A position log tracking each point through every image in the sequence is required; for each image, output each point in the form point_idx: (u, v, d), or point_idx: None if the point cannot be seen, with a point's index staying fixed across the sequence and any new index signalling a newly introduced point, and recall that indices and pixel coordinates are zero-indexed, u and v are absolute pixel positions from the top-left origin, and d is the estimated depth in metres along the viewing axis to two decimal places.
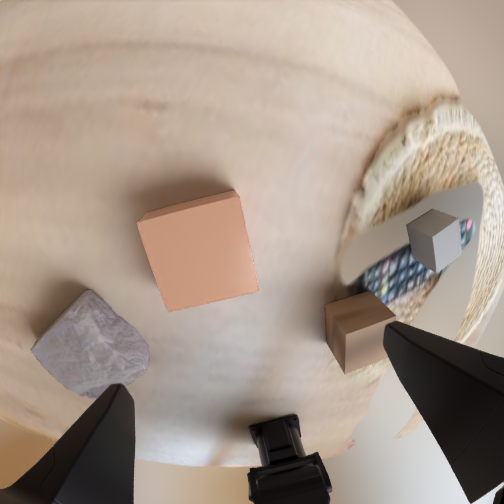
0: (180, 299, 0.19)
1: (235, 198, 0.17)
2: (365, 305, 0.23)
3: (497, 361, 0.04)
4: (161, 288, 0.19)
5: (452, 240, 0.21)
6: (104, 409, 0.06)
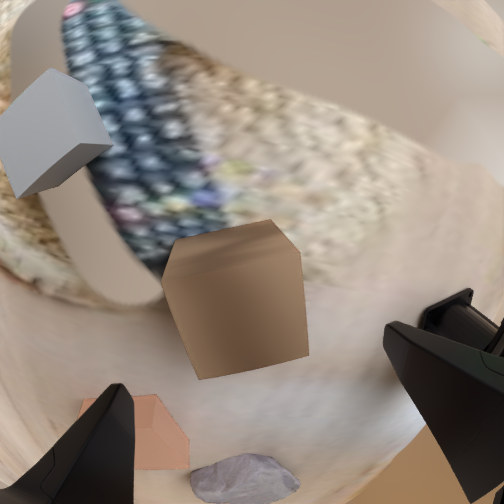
0: (174, 463, 0.16)
1: None
2: None
3: (497, 361, 0.04)
4: (167, 468, 0.17)
5: (20, 124, 0.07)
6: (104, 409, 0.06)
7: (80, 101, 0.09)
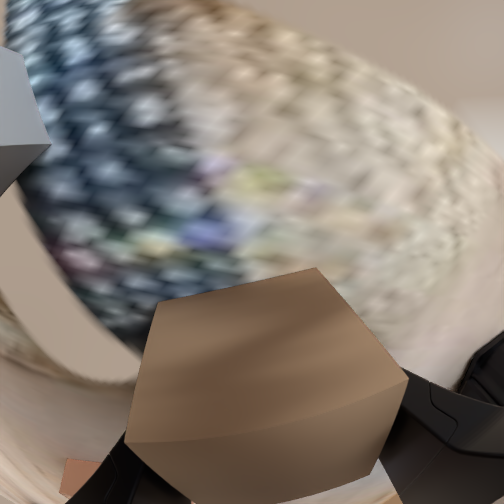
0: None
1: (62, 494, 0.08)
2: None
3: (448, 398, 0.04)
4: None
5: None
6: None
7: None
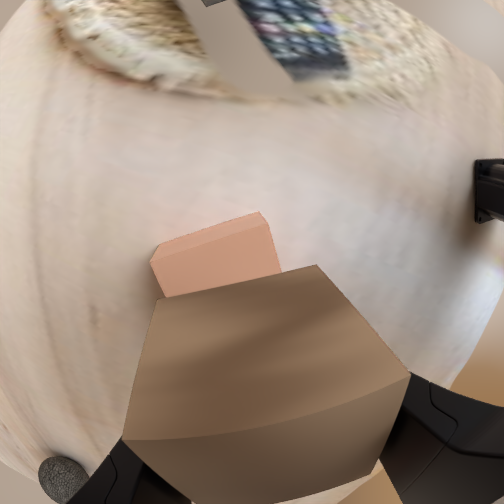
0: None
1: (152, 265, 0.15)
2: None
3: (448, 398, 0.04)
4: None
5: None
6: None
7: None
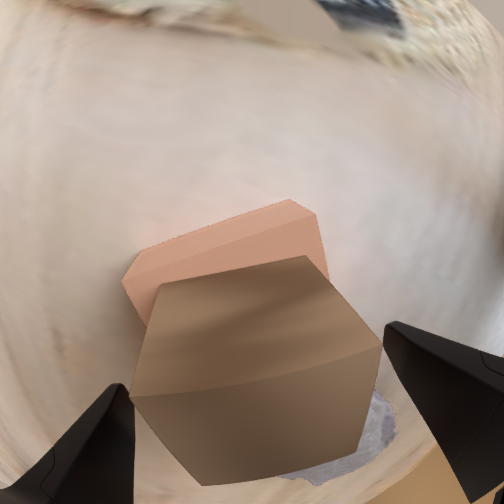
0: None
1: (126, 287, 0.09)
2: None
3: (497, 361, 0.04)
4: None
5: None
6: (104, 409, 0.06)
7: None
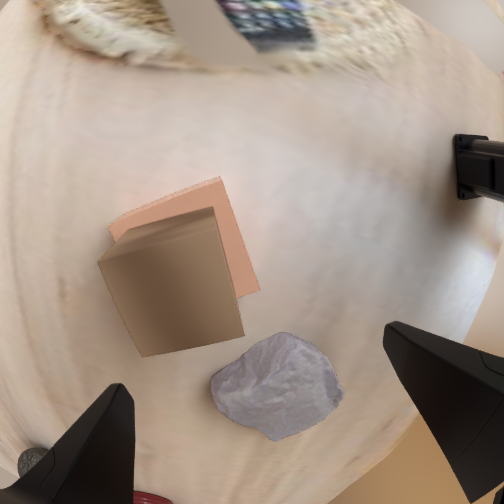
0: (241, 276, 0.16)
1: (111, 229, 0.14)
2: None
3: (497, 361, 0.04)
4: None
5: None
6: (104, 409, 0.06)
7: None
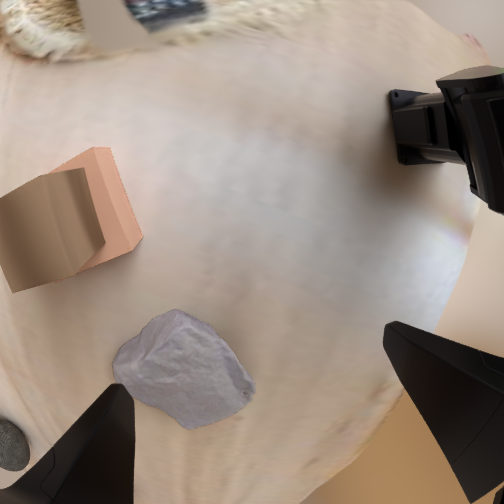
0: (113, 236, 0.16)
1: None
2: None
3: (497, 361, 0.04)
4: (105, 258, 0.16)
5: None
6: (104, 409, 0.06)
7: None
